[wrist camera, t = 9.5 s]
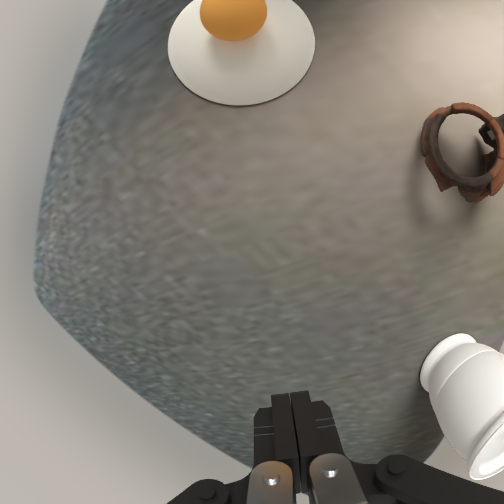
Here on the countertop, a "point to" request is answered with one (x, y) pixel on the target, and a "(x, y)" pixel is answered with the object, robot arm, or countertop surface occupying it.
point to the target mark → (243, 56)
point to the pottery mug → (498, 161)
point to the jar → (468, 400)
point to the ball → (233, 18)
